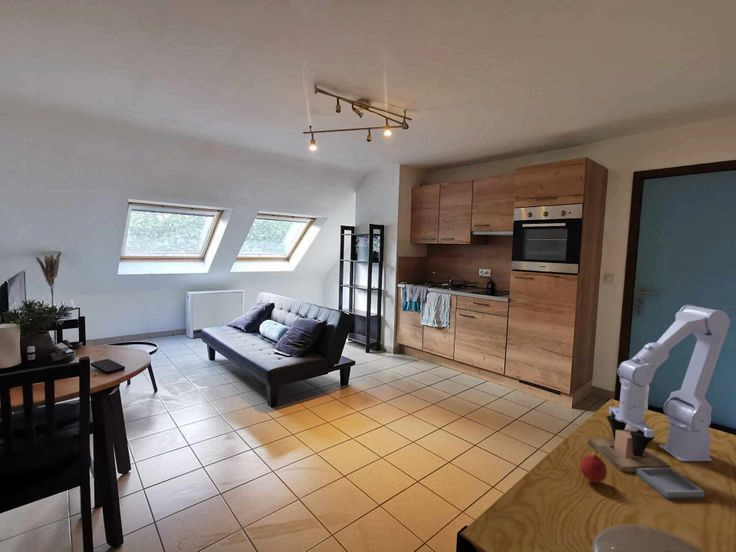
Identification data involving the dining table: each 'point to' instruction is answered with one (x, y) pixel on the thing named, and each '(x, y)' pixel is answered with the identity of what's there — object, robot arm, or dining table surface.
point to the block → (624, 444)
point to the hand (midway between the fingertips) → (627, 448)
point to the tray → (670, 483)
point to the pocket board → (626, 464)
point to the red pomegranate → (593, 468)
